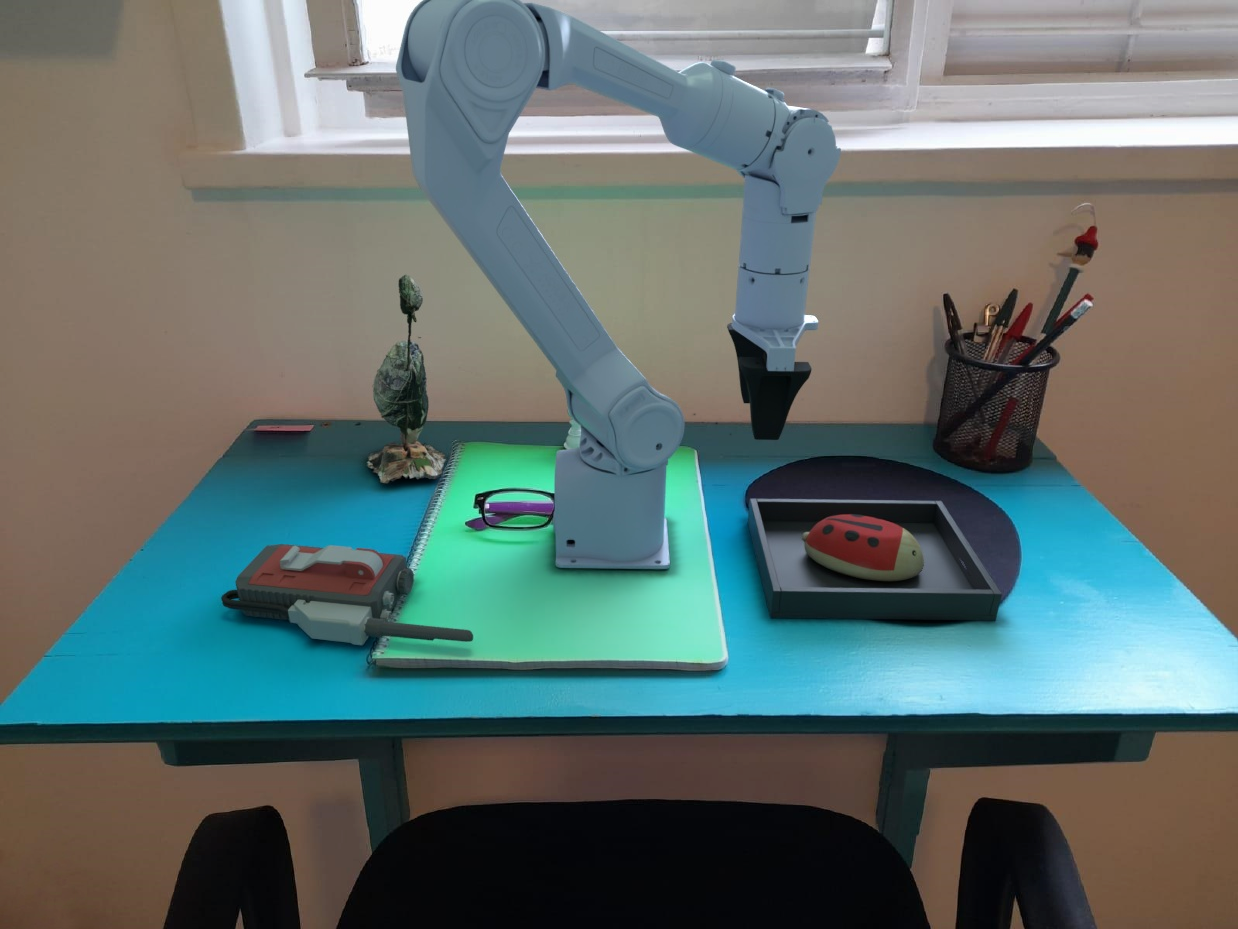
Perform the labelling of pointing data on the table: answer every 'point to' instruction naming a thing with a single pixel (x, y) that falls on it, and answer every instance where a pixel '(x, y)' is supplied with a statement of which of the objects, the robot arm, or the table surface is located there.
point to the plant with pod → (405, 402)
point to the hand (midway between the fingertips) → (759, 419)
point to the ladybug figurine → (864, 548)
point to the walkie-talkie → (331, 593)
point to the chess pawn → (573, 434)
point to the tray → (832, 595)
